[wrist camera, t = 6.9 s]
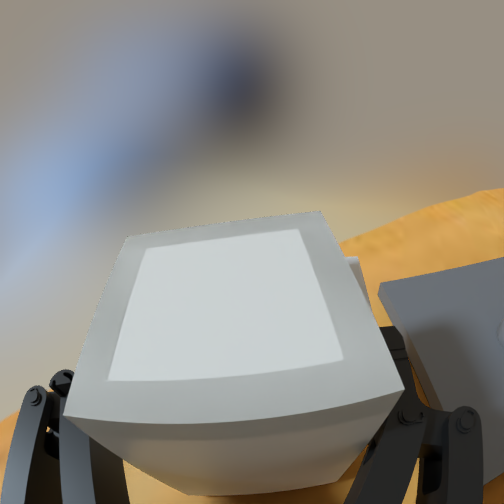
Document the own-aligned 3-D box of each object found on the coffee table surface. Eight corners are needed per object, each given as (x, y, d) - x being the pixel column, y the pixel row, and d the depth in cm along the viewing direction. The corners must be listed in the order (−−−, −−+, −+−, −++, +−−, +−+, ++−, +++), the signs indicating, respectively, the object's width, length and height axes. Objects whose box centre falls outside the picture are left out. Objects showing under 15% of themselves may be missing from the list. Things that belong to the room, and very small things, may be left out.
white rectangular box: (311, 368, 16) (320, 210, 11) (336, 481, 11) (404, 389, 5) (191, 381, 16) (127, 236, 11) (188, 495, 11) (62, 415, 5)
